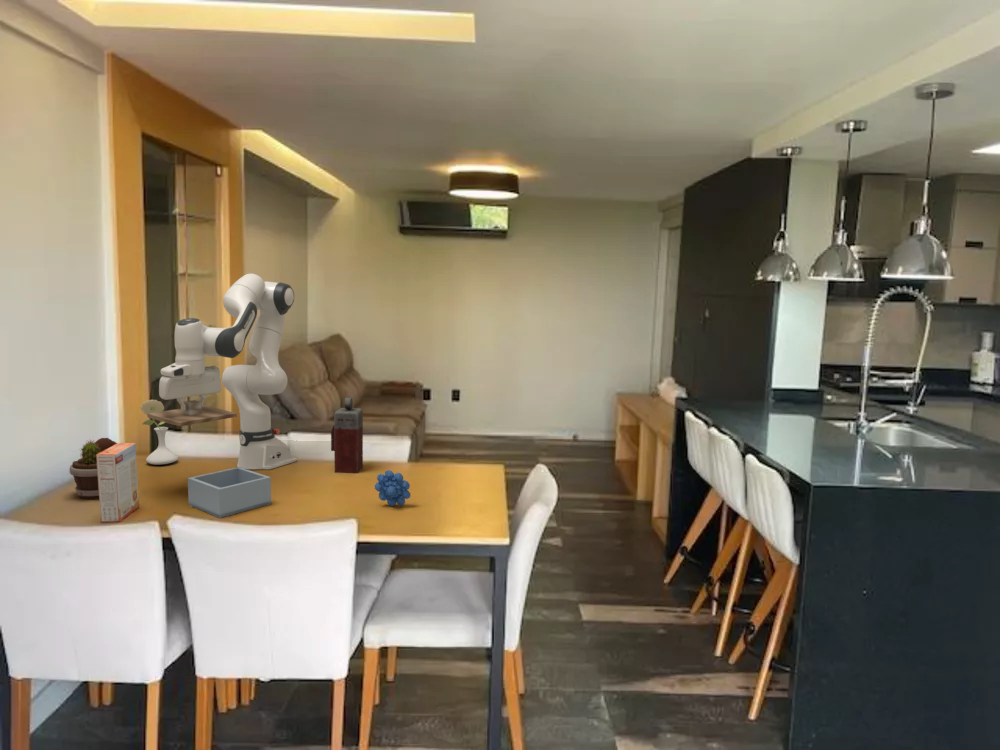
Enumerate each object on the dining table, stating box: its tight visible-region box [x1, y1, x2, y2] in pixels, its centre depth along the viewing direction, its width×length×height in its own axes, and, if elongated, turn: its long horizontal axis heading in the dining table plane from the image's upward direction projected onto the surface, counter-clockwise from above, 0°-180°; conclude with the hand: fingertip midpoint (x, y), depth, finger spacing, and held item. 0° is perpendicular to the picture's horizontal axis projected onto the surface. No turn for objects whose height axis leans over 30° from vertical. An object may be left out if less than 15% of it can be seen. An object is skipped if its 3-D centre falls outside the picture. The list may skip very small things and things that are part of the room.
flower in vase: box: [140, 399, 179, 466], centre depth 271 cm, size 13×11×25 cm
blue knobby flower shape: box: [374, 469, 411, 507], centre depth 228 cm, size 12×7×12 cm, turn 92°
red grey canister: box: [330, 397, 364, 474], centre depth 268 cm, size 9×11×28 cm
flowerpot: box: [69, 439, 101, 500], centre depth 231 cm, size 14×15×20 cm
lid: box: [146, 399, 238, 427], centre depth 234 cm, size 20×20×5 cm
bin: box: [187, 467, 272, 519], centre depth 226 cm, size 18×18×9 cm
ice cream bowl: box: [94, 437, 118, 453], centre depth 250 cm, size 11×11×15 cm
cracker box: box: [96, 442, 140, 523], centre depth 213 cm, size 14×6×21 cm, turn 5°
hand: (192, 409), depth 234 cm, fingers closed on lid, 4 cm apart
